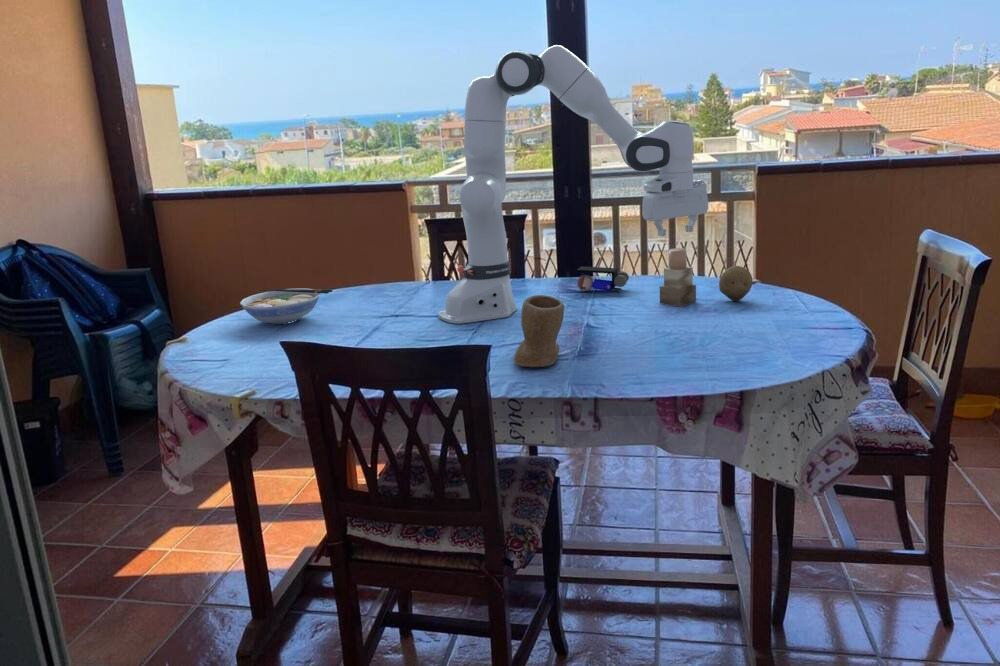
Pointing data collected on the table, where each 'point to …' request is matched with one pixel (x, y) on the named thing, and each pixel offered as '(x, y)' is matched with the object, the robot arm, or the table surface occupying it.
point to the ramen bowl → (281, 304)
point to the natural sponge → (735, 282)
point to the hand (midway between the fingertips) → (675, 233)
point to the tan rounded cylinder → (677, 258)
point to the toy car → (617, 280)
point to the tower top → (678, 277)
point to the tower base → (677, 295)
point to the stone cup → (539, 331)
